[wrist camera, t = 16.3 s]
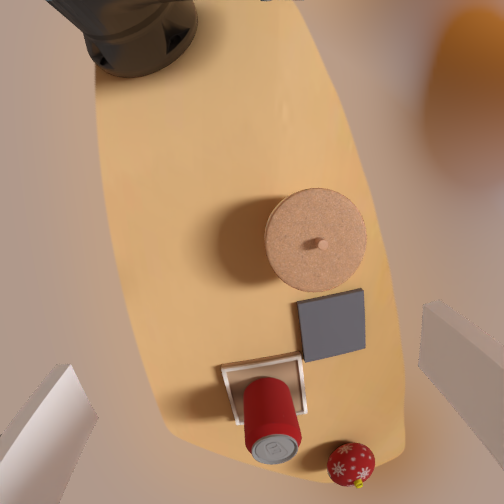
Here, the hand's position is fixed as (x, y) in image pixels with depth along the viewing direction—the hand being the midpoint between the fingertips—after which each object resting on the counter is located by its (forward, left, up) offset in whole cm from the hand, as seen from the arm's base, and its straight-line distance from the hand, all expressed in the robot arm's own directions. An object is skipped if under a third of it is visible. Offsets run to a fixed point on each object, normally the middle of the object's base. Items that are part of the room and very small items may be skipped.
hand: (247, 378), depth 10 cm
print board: (+22, 0, -29) cm, 37 cm away
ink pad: (+14, +10, -29) cm, 34 cm away
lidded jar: (0, +8, -29) cm, 30 cm away
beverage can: (+22, 0, -28) cm, 36 cm away
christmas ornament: (+41, +12, -29) cm, 52 cm away
